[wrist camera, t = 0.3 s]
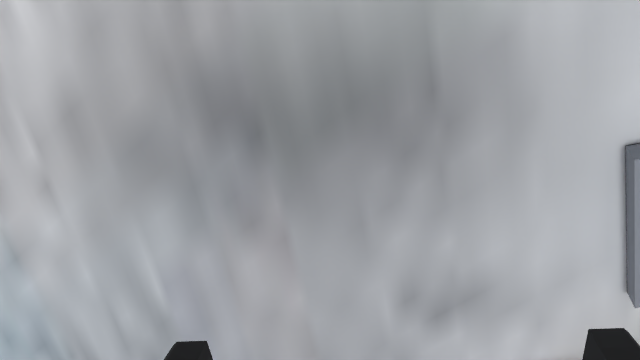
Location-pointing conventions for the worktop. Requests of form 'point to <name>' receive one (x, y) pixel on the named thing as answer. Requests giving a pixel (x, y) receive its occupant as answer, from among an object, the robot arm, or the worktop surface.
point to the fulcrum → (633, 222)
